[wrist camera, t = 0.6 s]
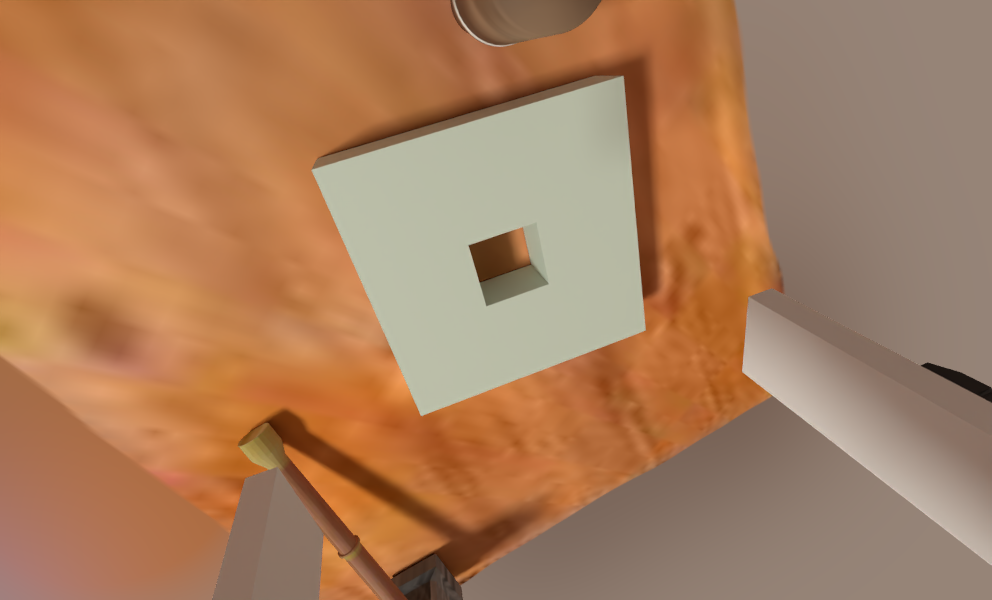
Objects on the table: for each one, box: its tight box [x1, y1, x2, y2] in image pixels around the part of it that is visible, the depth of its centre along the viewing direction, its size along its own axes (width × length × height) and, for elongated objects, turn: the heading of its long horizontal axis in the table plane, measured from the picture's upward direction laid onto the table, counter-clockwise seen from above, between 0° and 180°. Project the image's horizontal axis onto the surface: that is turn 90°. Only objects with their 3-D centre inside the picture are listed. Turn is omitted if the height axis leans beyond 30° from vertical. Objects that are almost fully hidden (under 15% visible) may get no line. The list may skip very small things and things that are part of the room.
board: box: [312, 76, 646, 416], centre depth 34 cm, size 20×20×4 cm
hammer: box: [238, 423, 463, 600], centre depth 39 cm, size 6×16×30 cm
